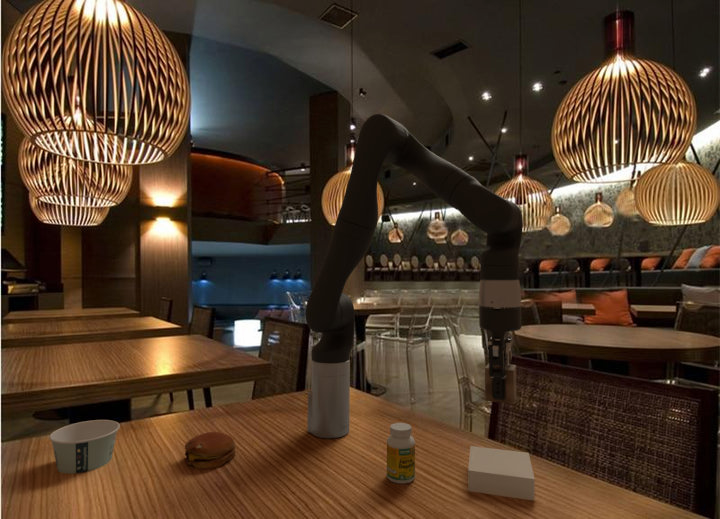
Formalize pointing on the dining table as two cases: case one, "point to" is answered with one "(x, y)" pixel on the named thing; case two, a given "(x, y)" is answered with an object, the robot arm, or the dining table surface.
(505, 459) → the riser block
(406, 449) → the supplement bottle
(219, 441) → the burger
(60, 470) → the food container
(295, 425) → the dining table surface
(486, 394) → the walnut block
